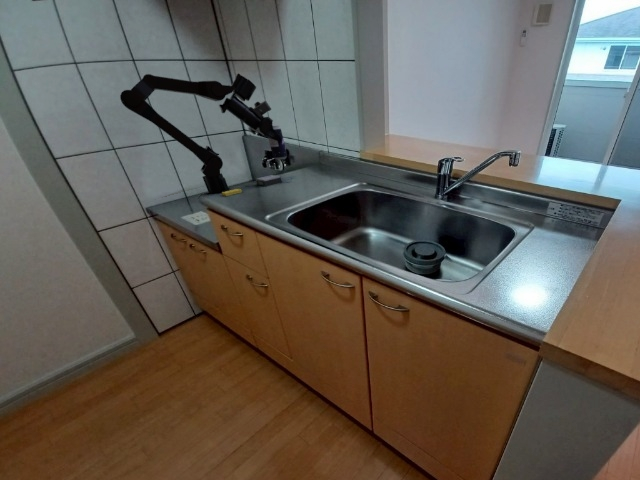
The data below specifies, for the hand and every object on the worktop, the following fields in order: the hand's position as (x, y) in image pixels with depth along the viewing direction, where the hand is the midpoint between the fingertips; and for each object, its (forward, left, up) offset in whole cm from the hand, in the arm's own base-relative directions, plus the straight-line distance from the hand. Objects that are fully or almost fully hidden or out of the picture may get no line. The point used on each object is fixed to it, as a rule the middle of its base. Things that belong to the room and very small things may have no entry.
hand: (279, 140), depth 131 cm
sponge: (-14, -23, -14) cm, 31 cm away
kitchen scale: (-5, -10, -14) cm, 18 cm away
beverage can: (-1, -1, -7) cm, 7 cm away
